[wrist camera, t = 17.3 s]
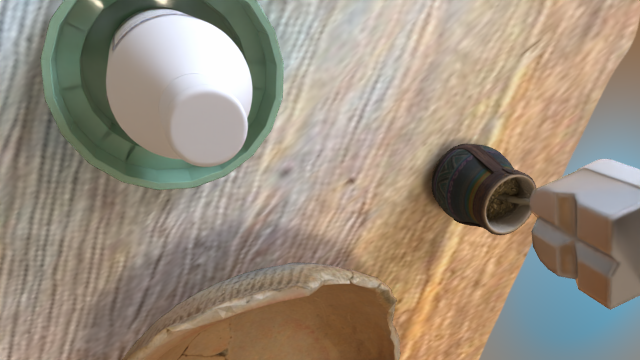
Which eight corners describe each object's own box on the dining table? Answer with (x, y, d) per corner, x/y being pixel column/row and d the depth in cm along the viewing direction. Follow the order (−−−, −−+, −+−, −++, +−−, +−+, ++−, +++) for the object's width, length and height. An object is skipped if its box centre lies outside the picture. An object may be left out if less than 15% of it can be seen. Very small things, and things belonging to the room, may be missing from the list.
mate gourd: (415, 150, 46) (486, 188, 37) (485, 125, 48) (568, 155, 39) (425, 219, 49) (493, 269, 40) (490, 192, 51) (569, 234, 42)
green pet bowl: (13, -9, 32) (-8, -9, 26) (228, -63, 35) (248, -72, 30) (104, 188, 37) (103, 221, 32) (281, 126, 41) (306, 147, 35)
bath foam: (202, 117, 38) (278, 228, 20) (101, 98, 35) (87, 209, 17) (221, 22, 36) (322, 54, 18) (117, -6, 33) (119, 1, 16)
